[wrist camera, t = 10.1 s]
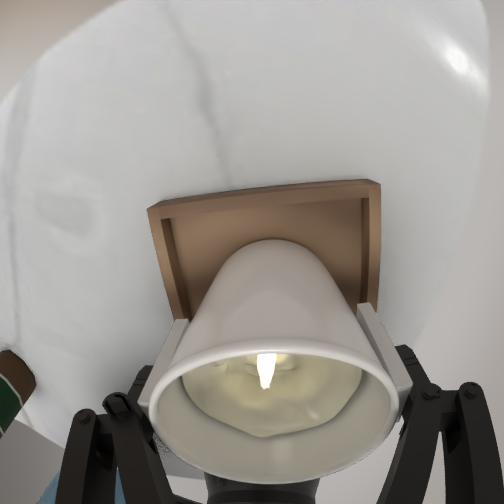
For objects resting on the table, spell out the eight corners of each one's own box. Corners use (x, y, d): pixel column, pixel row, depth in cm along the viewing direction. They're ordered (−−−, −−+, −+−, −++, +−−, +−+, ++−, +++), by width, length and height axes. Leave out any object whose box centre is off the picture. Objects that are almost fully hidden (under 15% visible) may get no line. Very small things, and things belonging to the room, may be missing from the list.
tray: (361, 348, 23) (368, 367, 21) (199, 362, 25) (194, 380, 22) (367, 178, 18) (380, 183, 16) (160, 201, 20) (146, 208, 17)
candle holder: (226, 206, 18) (164, 302, 7) (363, 254, 19) (448, 373, 8) (191, 325, 22) (142, 456, 11) (308, 359, 22) (324, 490, 11)
